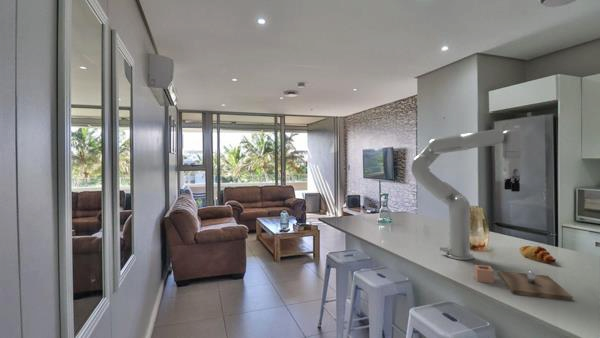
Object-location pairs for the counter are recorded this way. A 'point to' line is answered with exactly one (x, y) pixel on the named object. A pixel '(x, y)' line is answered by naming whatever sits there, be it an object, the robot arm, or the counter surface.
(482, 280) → the collar block
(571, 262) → the counter surface
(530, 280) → the steel pin
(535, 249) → the croissant
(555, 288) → the walnut board
